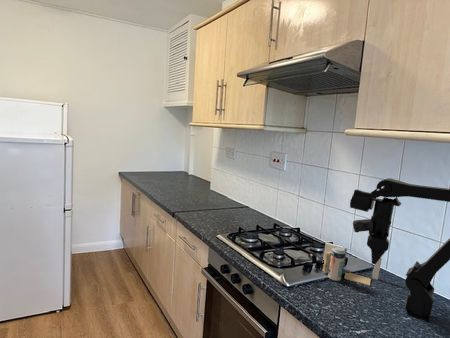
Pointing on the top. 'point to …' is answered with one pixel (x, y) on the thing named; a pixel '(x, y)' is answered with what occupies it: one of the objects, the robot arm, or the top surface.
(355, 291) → the top surface
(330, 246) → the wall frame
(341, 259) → the beer can
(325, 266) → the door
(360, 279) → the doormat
